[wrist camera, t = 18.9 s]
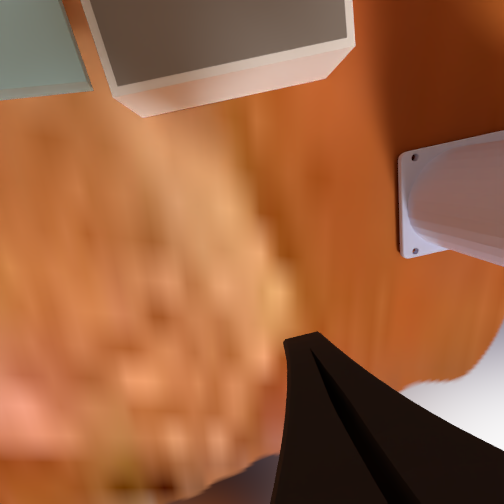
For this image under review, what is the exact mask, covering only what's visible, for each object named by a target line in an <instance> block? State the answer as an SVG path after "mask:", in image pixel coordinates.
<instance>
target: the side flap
mask: <svg viewBox="0 0 504 504" xmlns="http://www.w3.org/2000/svg"><path fill="white" fill-rule="evenodd" d="M86 91H93V88H92V85H91V82H90V79H89V76H88V73H87V71H86V68H85V65H84V62H83V59H82V56H81V54H80V51H79V48H78V45H77V42H76V39H75V37H74V34H73V31H72V28H71V25H70V22H69V20H68V17H67V14H66V11H65V8H64V5H63V3H62V0H0V100H9V99H18V98H28V97H38V96H47V95H57V94H66V93H76V92H86Z"/></svg>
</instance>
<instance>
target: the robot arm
mask: <svg viewBox="0 0 504 504" xmlns="http://www.w3.org/2000/svg"><path fill="white" fill-rule="evenodd" d="M412 155H414V156H415V158H414V160H413V161H412V159H411V158H412ZM398 184H399V225H400V254H401V256H402V257H404V258H413V257H417V256H422V255H426V254H431V253H435V252H439V251H444V250H448V249H450V250H453V251H457V252H460V253H463V254H466V255H469V256H472V257H475V258H478V259H481V260H485V261H488V262H491V263H494V264H497V265H500V266H503V267H504V130H502V131H498V132H493V133H489V134H484V135H479V136H475V137H470V138H466V139H461V140H457V141H452V142H448V143H443V144H438V145H434V146H429V147H425V148H420V149H416V150H411V151H407V152H403V153H402V154H401V155H400V156H399V158H398ZM414 248H415V251H414V252H413V253H412V251H413V249H414ZM283 344H284V349H285V354H286V359H287V398H286V412H285V421H284V430H283V437H282V444H281V450H280V457H279V462H278V467H277V472H276V478H275V483H274V488H273V492H272V497H271V502H270V504H504V451H503V450H501V449H499V448H497V447H494V446H493V445H491V444H489V443H487V442H485V441H483V440H481V439H479V438H477V437H475V436H473V435H472V434H470V433H467V432H465V431H464V430H462V429H460V428H458V427H456V426H454V425H452V424H450V423H449V422H447V421H445V420H443V419H442V418H440V417H438V416H436V415H434V414H432V413H431V412H429V411H428V410H426V409H424V408H423V407H421V406H419V405H417V404H416V403H414V402H413V401H411V400H409V399H408V398H406V397H405V396H403V395H402V394H400V393H399V392H397V391H395V390H394V389H392V388H391V387H389V386H388V385H387V384H385V383H384V382H382V381H381V380H379V379H378V378H376V377H375V376H374V375H372V374H371V373H369V372H368V371H367V370H365V369H364V368H363V367H361V366H360V365H359V364H357V363H356V362H355V361H353V360H352V359H351V358H349V357H348V356H347V355H346V354H344V353H343V352H342V351H341V350H339V349H338V348H337V347H336V346H335V345H333V344H332V343H331V342H330V341H329V340H328V339H326V338H325V337H324V336H323V335H322V334H321V333H319V332H318V331H317V332H313V333H309V334H305V335H301V336H297V337H293V338H289V339H285V341H284V342H283Z"/></svg>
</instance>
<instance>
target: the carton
mask: <svg viewBox="0 0 504 504" xmlns="http://www.w3.org/2000/svg"><path fill="white" fill-rule="evenodd" d="M80 1H81V4H82V7H83V10H84V13H85V16H86V18H87V21H88V24H89V27H90V30H91V33H92V36H93V39H94V42H95V45H96V48H97V51H98V54H99V57H100V60H101V63H102V66H103V69H104V72H105V75H106V78H107V81H108V84H109V87H110V90H111V93H112V96H113V98H114V99H116V100H117V101H118V102H120V103H121V104H123V105H124V106H126V107H127V108H129V109H130V110H132V111H133V112H135V113H136V114H138V115H139V116H141V117H142V118H145V117H150V116H154V115H159V114H164V113H168V112H173V111H178V110H182V109H187V108H192V107H196V106H201V105H206V104H210V103H215V102H220V101H224V100H229V99H233V98H238V97H243V96H247V95H252V94H257V93H261V92H266V91H271V90H275V89H280V88H285V87H289V86H294V85H299V84H303V83H308V82H313V81H317V80H322V79H326V78H327V76H328V75H329V74H330V73H331V72H332V71H333V70H334V69H335V68H336V67H337V65H338V64H339V63H340V62H341V61H342V60H343V59H344V58H345V57H346V56H347V55H348V53H349V52H350V51H351V50H352V49H353V48H354V47H355V32H354V17H353V1H352V0H80Z"/></svg>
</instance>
